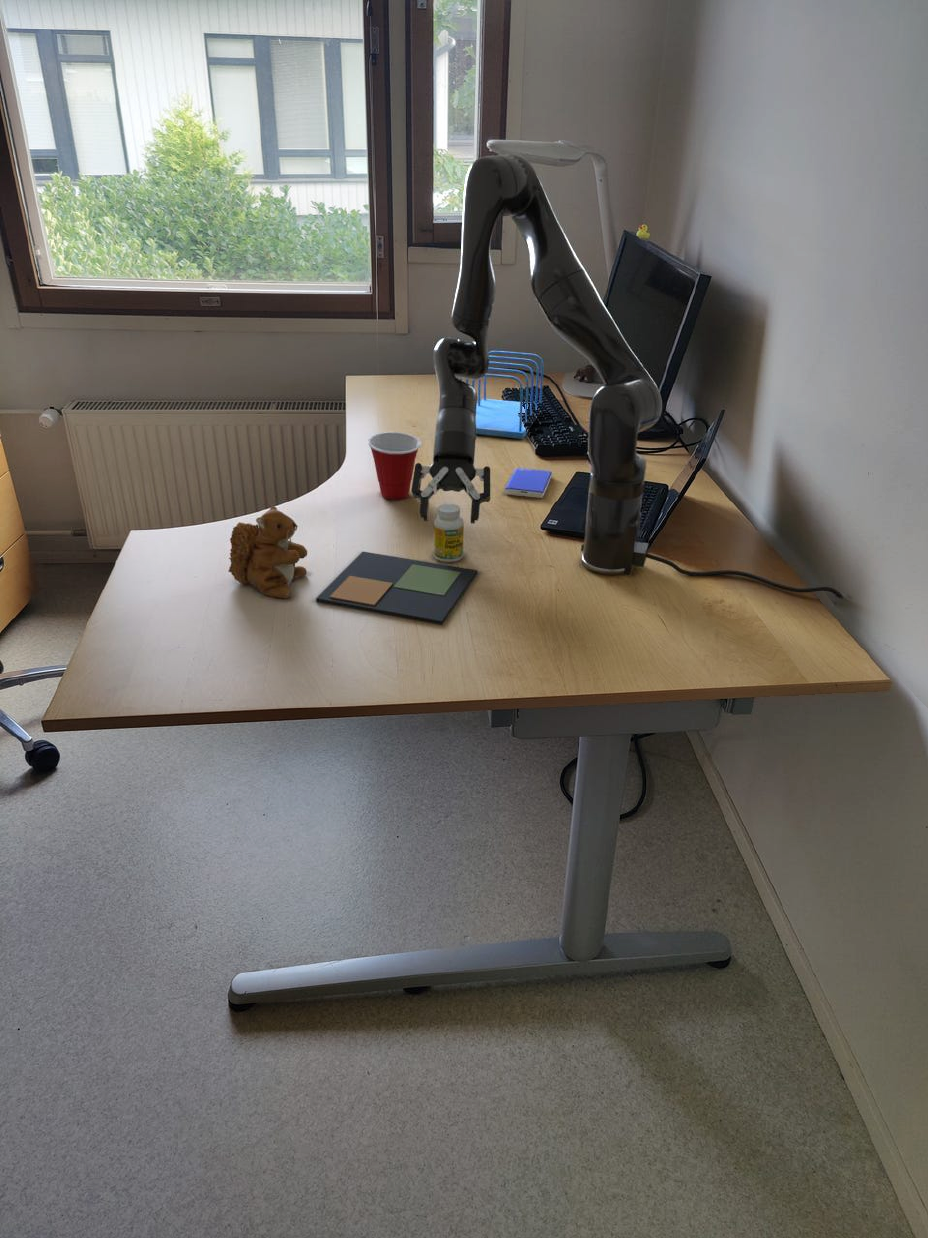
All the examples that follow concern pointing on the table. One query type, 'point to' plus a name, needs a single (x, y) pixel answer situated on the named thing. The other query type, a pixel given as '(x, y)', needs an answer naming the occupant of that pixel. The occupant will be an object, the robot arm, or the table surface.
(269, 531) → the stuffed squirrel
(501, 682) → the table surface
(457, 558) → the supplement bottle
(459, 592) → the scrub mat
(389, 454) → the plastic cup
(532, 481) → the hard drive
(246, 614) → the table surface
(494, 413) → the file sorter
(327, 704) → the table surface
